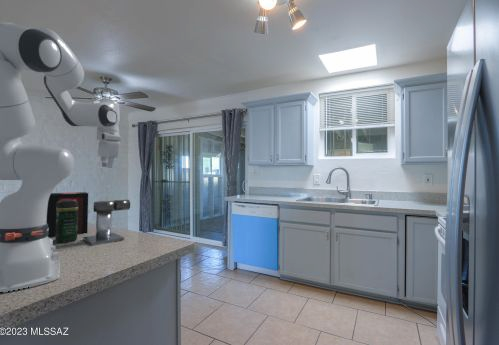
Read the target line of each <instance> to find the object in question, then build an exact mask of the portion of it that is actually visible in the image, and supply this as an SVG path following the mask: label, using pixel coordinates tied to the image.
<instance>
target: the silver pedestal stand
mask: <svg viewBox="0 0 499 345" xmlns="http://www.w3.org/2000/svg"><path fill="white" fill-rule="evenodd" d="M112 214H113V211H110V212H96V218H95V219H96V220H95V221H96V222H95V223H96V226H95V228H96V229H95V235H89V236H88V235H87V236H83V237H82V240H83V241H85V242H86V243H88V245H90V246H98V245H103V244H110V243H116V242H122V241H125V237H124V236H122V235H120V234H118V233H116V232H112V221H113V220H112V219H113V218H112Z"/></svg>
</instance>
